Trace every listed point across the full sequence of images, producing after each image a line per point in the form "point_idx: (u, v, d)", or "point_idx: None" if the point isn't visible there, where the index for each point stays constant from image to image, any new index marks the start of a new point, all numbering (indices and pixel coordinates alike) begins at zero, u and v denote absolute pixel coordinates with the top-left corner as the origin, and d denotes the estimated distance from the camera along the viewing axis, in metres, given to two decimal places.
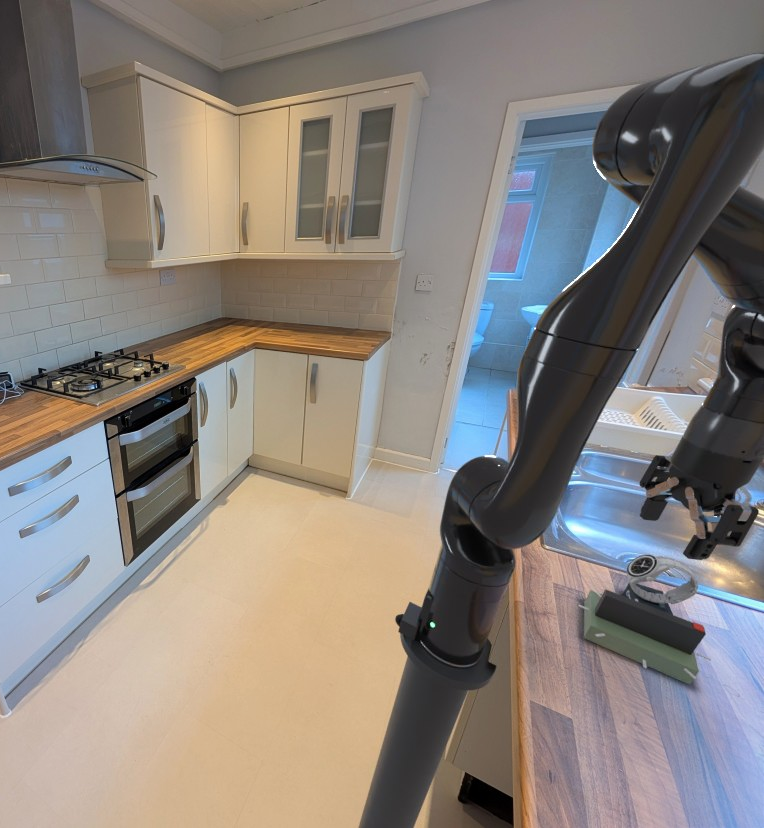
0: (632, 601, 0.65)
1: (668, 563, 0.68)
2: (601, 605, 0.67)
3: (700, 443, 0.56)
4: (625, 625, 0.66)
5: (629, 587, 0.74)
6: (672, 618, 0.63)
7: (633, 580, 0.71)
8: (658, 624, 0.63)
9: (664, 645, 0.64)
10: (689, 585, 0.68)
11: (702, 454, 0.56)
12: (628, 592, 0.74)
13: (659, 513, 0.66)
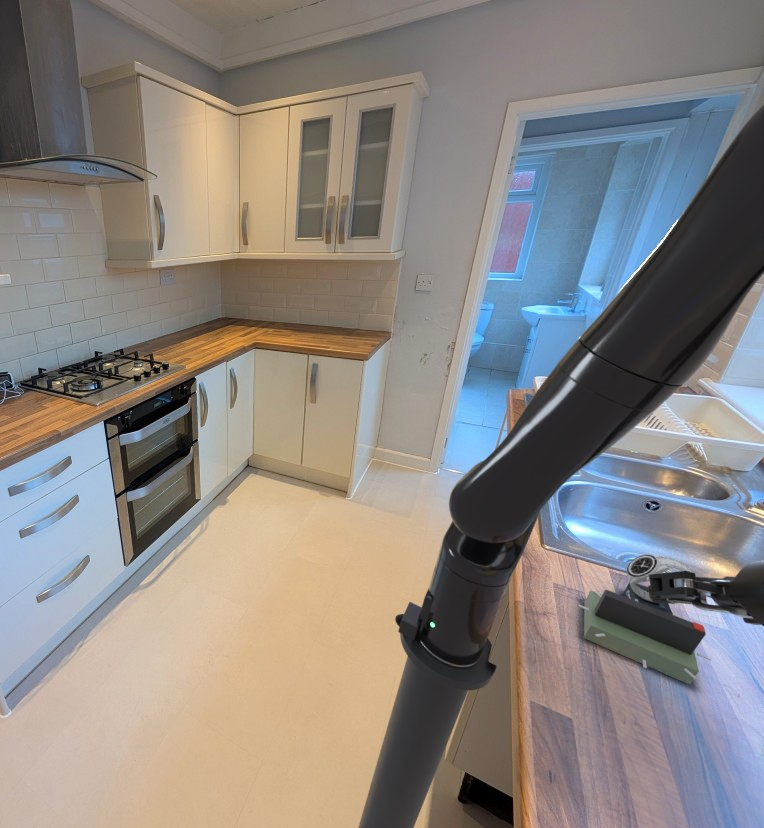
0: (632, 601, 0.65)
1: (668, 563, 0.68)
2: (601, 605, 0.67)
3: None
4: (625, 625, 0.66)
5: (629, 587, 0.74)
6: (672, 618, 0.63)
7: (633, 580, 0.71)
8: (658, 624, 0.63)
9: (664, 645, 0.64)
10: None
11: None
12: (629, 592, 0.74)
13: (753, 620, 0.49)
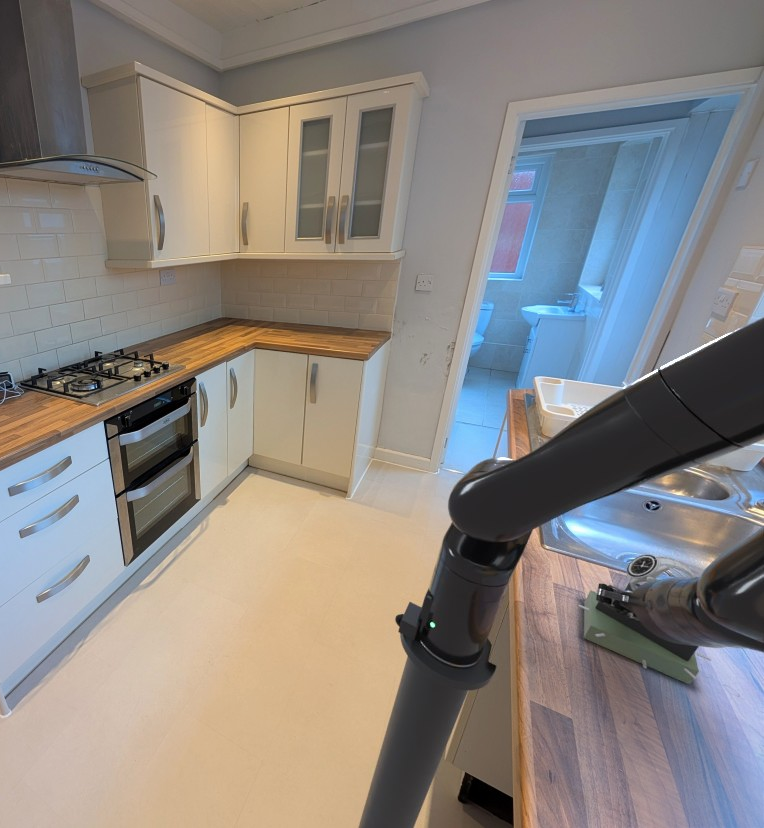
0: None
1: (668, 563, 0.68)
2: None
3: None
4: (623, 622, 0.67)
5: (629, 587, 0.74)
6: None
7: (633, 580, 0.71)
8: None
9: None
10: None
11: None
12: None
13: None
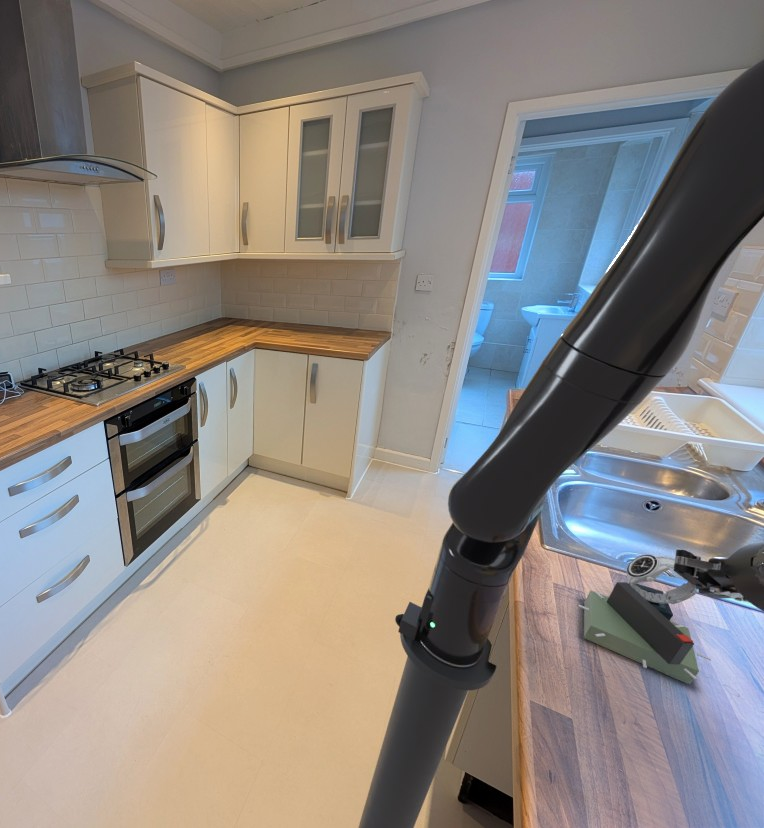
0: (640, 597, 0.66)
1: (668, 563, 0.68)
2: (612, 592, 0.70)
3: None
4: (625, 618, 0.67)
5: None
6: (665, 622, 0.62)
7: (633, 580, 0.71)
8: (649, 623, 0.64)
9: None
10: (689, 585, 0.68)
11: None
12: None
13: None
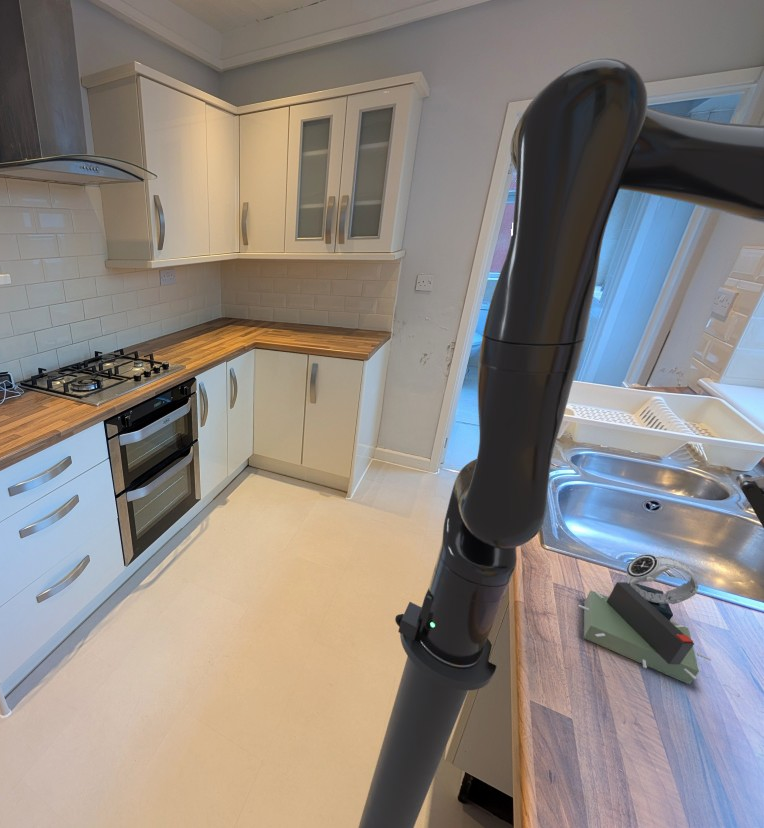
0: (640, 597, 0.66)
1: (668, 563, 0.68)
2: (612, 592, 0.70)
3: None
4: (625, 618, 0.67)
5: None
6: (665, 622, 0.62)
7: (633, 580, 0.71)
8: (649, 623, 0.64)
9: None
10: (689, 585, 0.68)
11: None
12: None
13: None
